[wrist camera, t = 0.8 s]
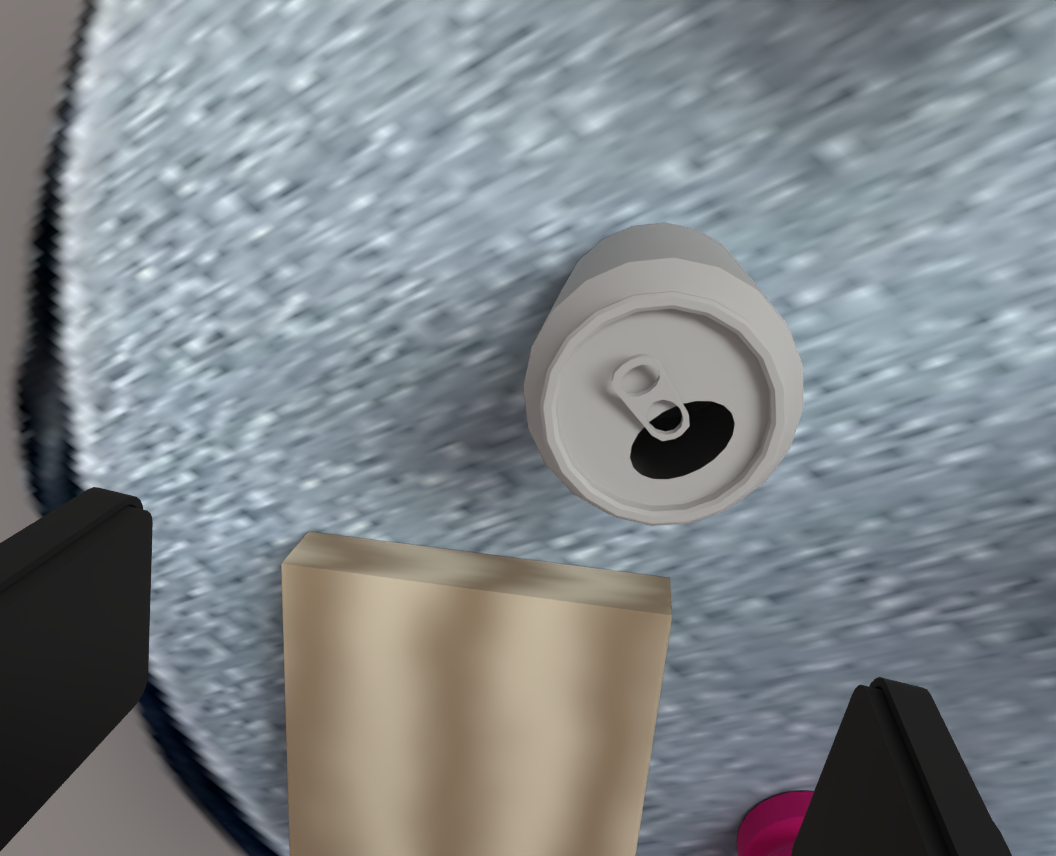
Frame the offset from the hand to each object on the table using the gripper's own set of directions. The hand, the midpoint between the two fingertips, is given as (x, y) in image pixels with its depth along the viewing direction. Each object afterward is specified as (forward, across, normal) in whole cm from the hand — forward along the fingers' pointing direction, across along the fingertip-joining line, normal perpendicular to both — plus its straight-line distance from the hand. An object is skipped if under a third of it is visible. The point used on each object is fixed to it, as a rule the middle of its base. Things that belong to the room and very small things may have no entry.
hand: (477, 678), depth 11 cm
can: (+23, -2, 0) cm, 23 cm away
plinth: (+23, +2, +19) cm, 30 cm away
